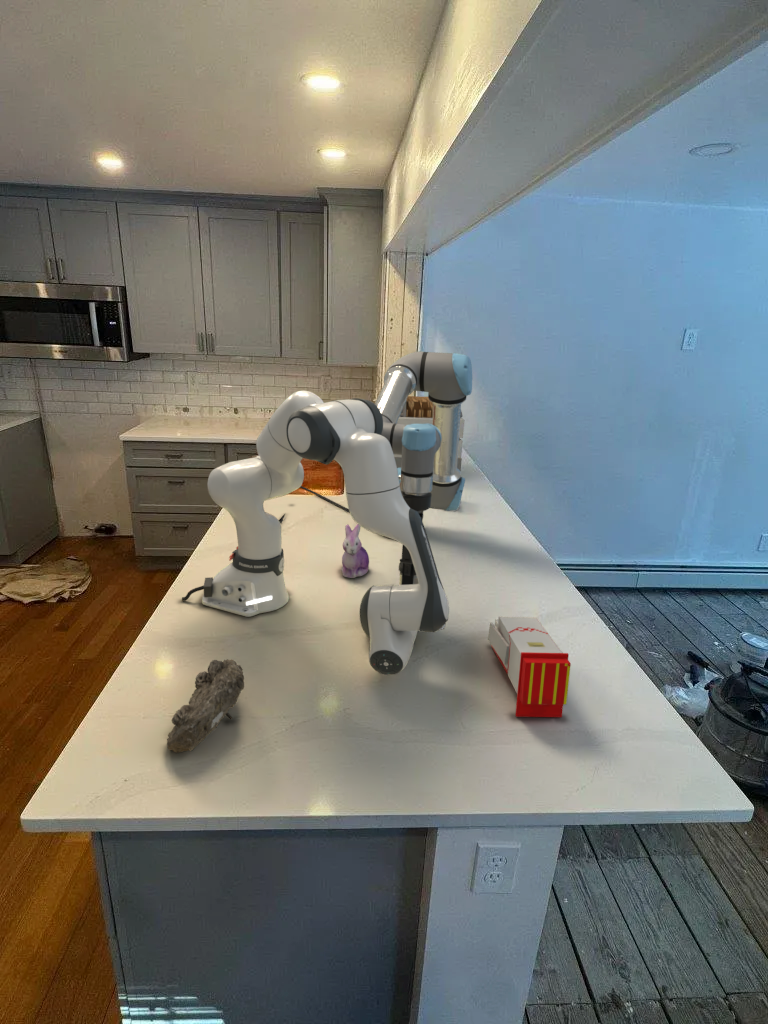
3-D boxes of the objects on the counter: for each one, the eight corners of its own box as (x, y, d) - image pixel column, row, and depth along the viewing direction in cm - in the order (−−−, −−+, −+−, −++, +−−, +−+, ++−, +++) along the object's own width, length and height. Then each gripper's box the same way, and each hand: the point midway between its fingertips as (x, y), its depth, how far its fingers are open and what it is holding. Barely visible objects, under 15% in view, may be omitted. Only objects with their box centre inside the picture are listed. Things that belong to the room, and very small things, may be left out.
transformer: (382, 463, 289) (386, 382, 275) (445, 464, 293) (451, 384, 279) (390, 482, 257) (394, 392, 243) (460, 483, 261) (468, 394, 247)
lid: (424, 575, 138) (425, 569, 137) (401, 576, 137) (401, 570, 136) (419, 565, 143) (419, 559, 143) (396, 565, 142) (397, 559, 142)
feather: (292, 507, 224) (294, 503, 223) (275, 531, 197) (278, 527, 197) (288, 505, 224) (291, 501, 223) (271, 528, 197) (273, 524, 197)
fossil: (192, 660, 117) (244, 628, 112) (224, 691, 120) (276, 661, 115) (142, 746, 98) (202, 712, 93) (182, 779, 101) (242, 748, 96)
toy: (534, 602, 136) (579, 659, 107) (529, 653, 139) (572, 723, 110) (484, 601, 136) (516, 658, 107) (480, 652, 139) (510, 722, 109)
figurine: (347, 581, 163) (348, 533, 158) (333, 567, 172) (334, 521, 166) (376, 576, 167) (378, 528, 162) (361, 562, 176) (363, 517, 171)
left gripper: (445, 619, 128) (451, 591, 140) (357, 606, 131) (370, 580, 144) (443, 643, 130) (449, 613, 143) (356, 630, 133) (369, 602, 146)
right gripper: (407, 478, 142) (402, 562, 150) (391, 501, 125) (386, 594, 133) (437, 481, 141) (430, 566, 149) (424, 505, 124) (418, 599, 131)
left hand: (409, 596), depth 143 cm, fingers closed on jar, 5 cm apart
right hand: (409, 579), depth 141 cm, fingers closed on lid, 6 cm apart
